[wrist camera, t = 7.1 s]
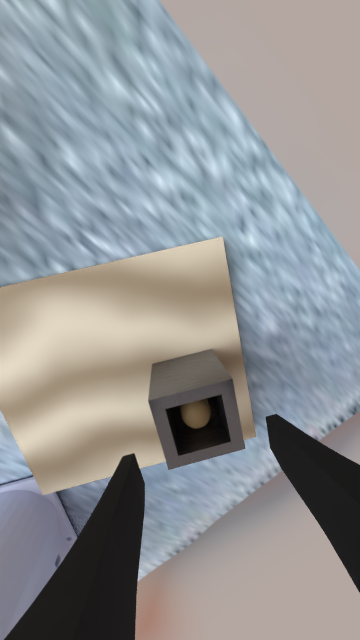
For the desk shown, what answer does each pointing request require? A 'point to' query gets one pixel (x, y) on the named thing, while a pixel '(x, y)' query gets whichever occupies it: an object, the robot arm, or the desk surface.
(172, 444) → the grey hollow cube
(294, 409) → the desk surface
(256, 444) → the desk surface
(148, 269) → the board
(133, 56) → the desk surface
